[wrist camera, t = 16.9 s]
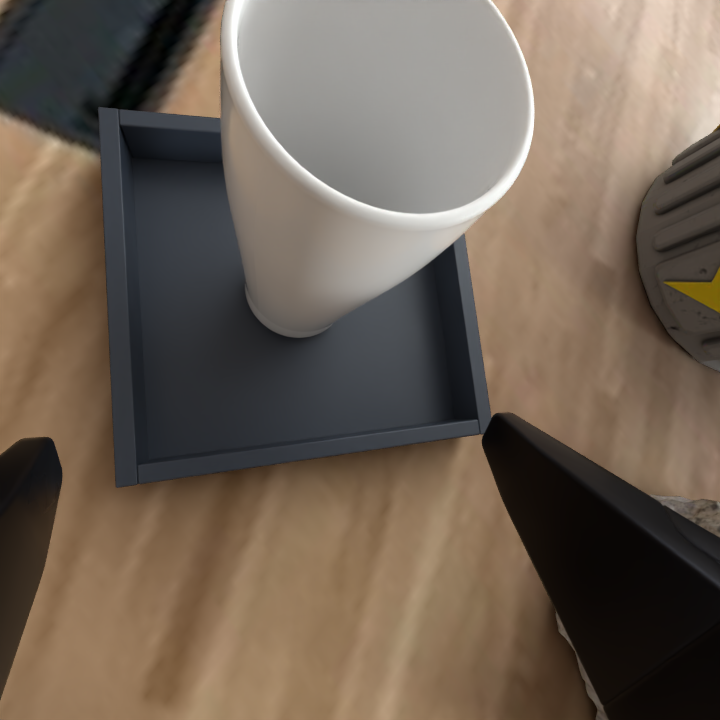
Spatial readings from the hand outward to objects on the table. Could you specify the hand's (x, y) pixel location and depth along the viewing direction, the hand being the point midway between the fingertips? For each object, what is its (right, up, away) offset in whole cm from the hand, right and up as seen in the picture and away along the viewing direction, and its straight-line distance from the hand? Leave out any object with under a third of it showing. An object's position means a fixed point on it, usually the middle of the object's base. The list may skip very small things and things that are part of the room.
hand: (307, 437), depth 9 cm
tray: (-2, +5, +14) cm, 15 cm away
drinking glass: (-2, +5, +14) cm, 15 cm away
